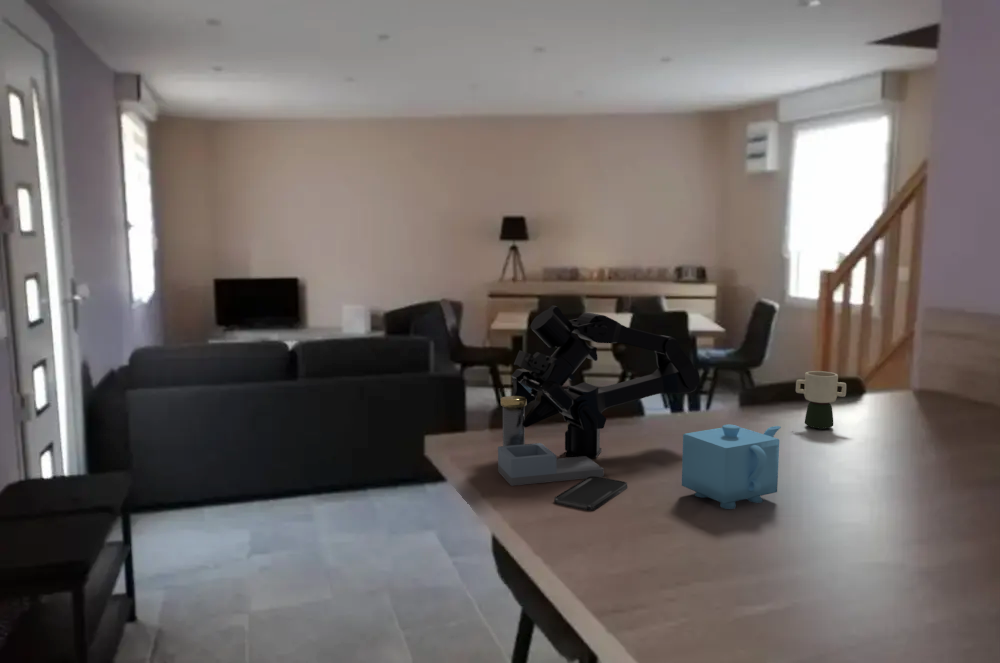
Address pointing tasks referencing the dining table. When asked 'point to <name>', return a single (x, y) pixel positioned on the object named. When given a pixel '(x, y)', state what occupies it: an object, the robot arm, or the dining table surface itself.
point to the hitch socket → (542, 465)
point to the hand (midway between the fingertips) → (514, 420)
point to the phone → (591, 493)
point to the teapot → (731, 464)
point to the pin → (513, 420)
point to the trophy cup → (820, 397)
